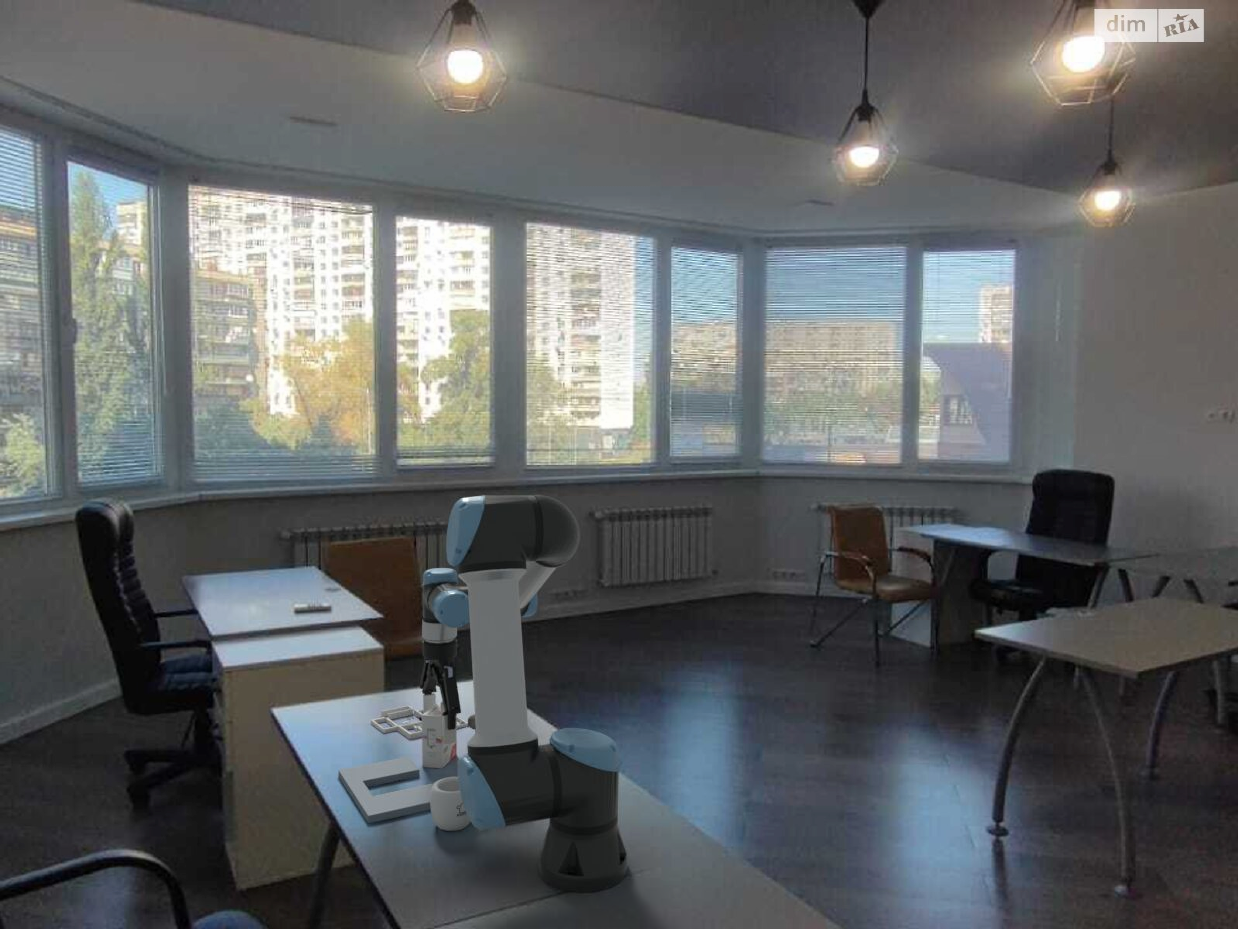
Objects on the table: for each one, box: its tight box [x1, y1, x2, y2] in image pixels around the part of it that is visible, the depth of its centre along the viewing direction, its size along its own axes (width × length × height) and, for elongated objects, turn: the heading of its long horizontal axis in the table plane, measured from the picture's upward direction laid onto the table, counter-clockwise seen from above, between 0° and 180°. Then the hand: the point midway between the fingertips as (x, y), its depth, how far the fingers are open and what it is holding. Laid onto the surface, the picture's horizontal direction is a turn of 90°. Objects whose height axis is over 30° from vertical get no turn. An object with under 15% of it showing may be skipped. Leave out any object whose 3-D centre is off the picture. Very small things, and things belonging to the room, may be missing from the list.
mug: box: [430, 776, 471, 832], centre depth 163 cm, size 12×8×8 cm
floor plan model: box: [370, 705, 469, 740], centre depth 213 cm, size 19×25×2 cm
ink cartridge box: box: [421, 701, 458, 769], centre depth 191 cm, size 9×5×15 cm, turn 168°
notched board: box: [338, 756, 434, 824], centre depth 176 cm, size 24×15×2 cm, turn 31°
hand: (439, 732), depth 192 cm, fingers open, 13 cm apart
